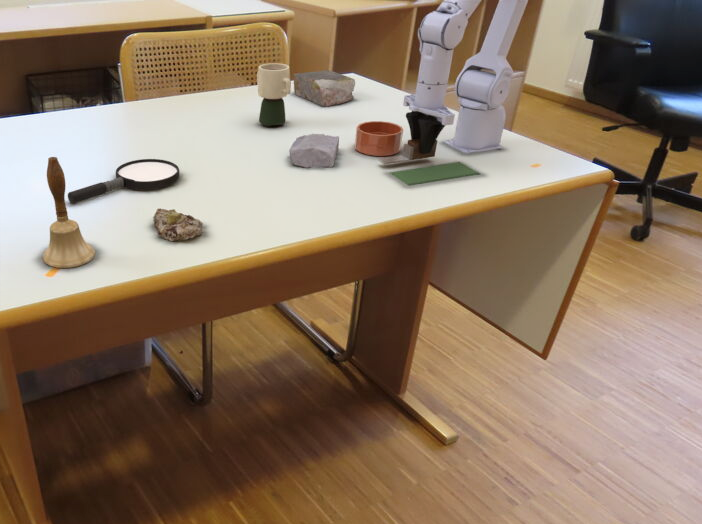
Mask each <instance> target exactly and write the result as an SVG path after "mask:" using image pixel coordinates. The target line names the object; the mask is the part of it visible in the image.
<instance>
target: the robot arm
mask: <svg viewBox="0 0 702 524" xmlns="http://www.w3.org/2000/svg"><path fill="white" fill-rule="evenodd" d="M481 2H482V0H442V2H441V3H440V4H439V6H438V7H437V8H436V10H433V11H432V12H429V13H428V14H426V15H425V16H424V17H423V19H422V21H421V22H420V26H419V28H418V29H417V39H418V41H419V50H418V51H419V54H420V62H419V68H418V75H417V81H416V88H415V95H414V94H407V95H406V94H405V95H404V96H403V102H402V103H403V105H402V106H404V107H408V110H410V112H409V111H407V112H406V113H405V118H406V120H407V124H408V127H409V132H410V140H411V139H419V138H421V140H420V153H421V154H427V153H430V152H431V150H432V148H433V145H434V143H435V141H436V140H438V138H439V135H440V133H441V132H443V129H444V128H445V127H446V126H452V125H454V121H455V116H456V114H455V113H453V112H452V111H451V110H449V108H448V107H447V106H446V104H445V100H446V97H447V90H448V84H449V77H450V73H451V72H450V71H451V67H452V61H453V55H454V51H455V48H456V47H457V46H458V45H459V44H460V43H461V42H462V40H463V37H464V35H465V31H466V28H467V26H468V23H469V19H470V18H471V16H472V15H473V13H474V12H475V10H476V9H477V7H478V6H479V5H480V3H481ZM528 2H529V0H498V3H497V6H496V8H495V11H494V13H493V17H492V19H491V22H490V24H489V26H488V30H487V32H486V35H485V38H484V40H483V43H482V46H481V48H480V51H479V52H477V53H476V54H475V55H473V56H471V57H469V58H468V59H466V61H465V63H464V65H463V68H462V70H461V71H460V73H459V74H458V76H457V77H456V78H455V79H456V80H455V82H454V83H455V84H454V94H455V96H456V97H457V103H458V104H459V109H458V114H457V120H456V125H455V129H454V130H455V131H454V135H453V139H446V140H444V144H446V145H448V146H450V147H451V148H453V149H455V150H457V151H459V152H461V153H463V154H467V155H468V154H473V153H481V152H487V151H494V150H495V151H496V150H501V149H502V148H503V147H502V145H500V144H501V140H502V136H503V132H504V127H505V123H506V116H507V115H506V108H505V107H504V105H502V104H503V103H504V102H505V101H506V99H507V97H508V95H509V92H510V88H511V82H512V77H513V74H514V70H513V67H512V66H511V65H510V63H509V61H508V60H507V57H508V53H509V52H510V49H511V46H512V44H513V41H514V38H515V35H516V33H517V30H518V27H519V25H520V23H521V20H522V18H523V15H524V13H525V10H526V7H527V5H528ZM485 70H487V71H485ZM489 71H492V72H489ZM493 72H495V73H493Z"/></svg>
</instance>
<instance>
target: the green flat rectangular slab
mask: <svg viewBox="0 0 702 524" xmlns="http://www.w3.org/2000/svg"><path fill="white" fill-rule="evenodd" d="M389 174H390V175H391V176H393V177H394V178H396V179H398V180H400V181H401V182H402V183H404V184H406V186H408V187H409V186H410V187H411V186H417V185H423V184H430V183H435V182H441V181H448V180H453V179H460V178H461V179H462V178H466V177H472V176H479V175H481V173H480V172H479V171H476V170H475V169H473V168H471V167H469V166H468V165H466V164H465V163H462V162H460V161H457V162H450V163H444V164H438V165H437V164H436V165H431V166H425V167H417V168H411V169H404V170H398V171H391V172H389Z"/></svg>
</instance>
